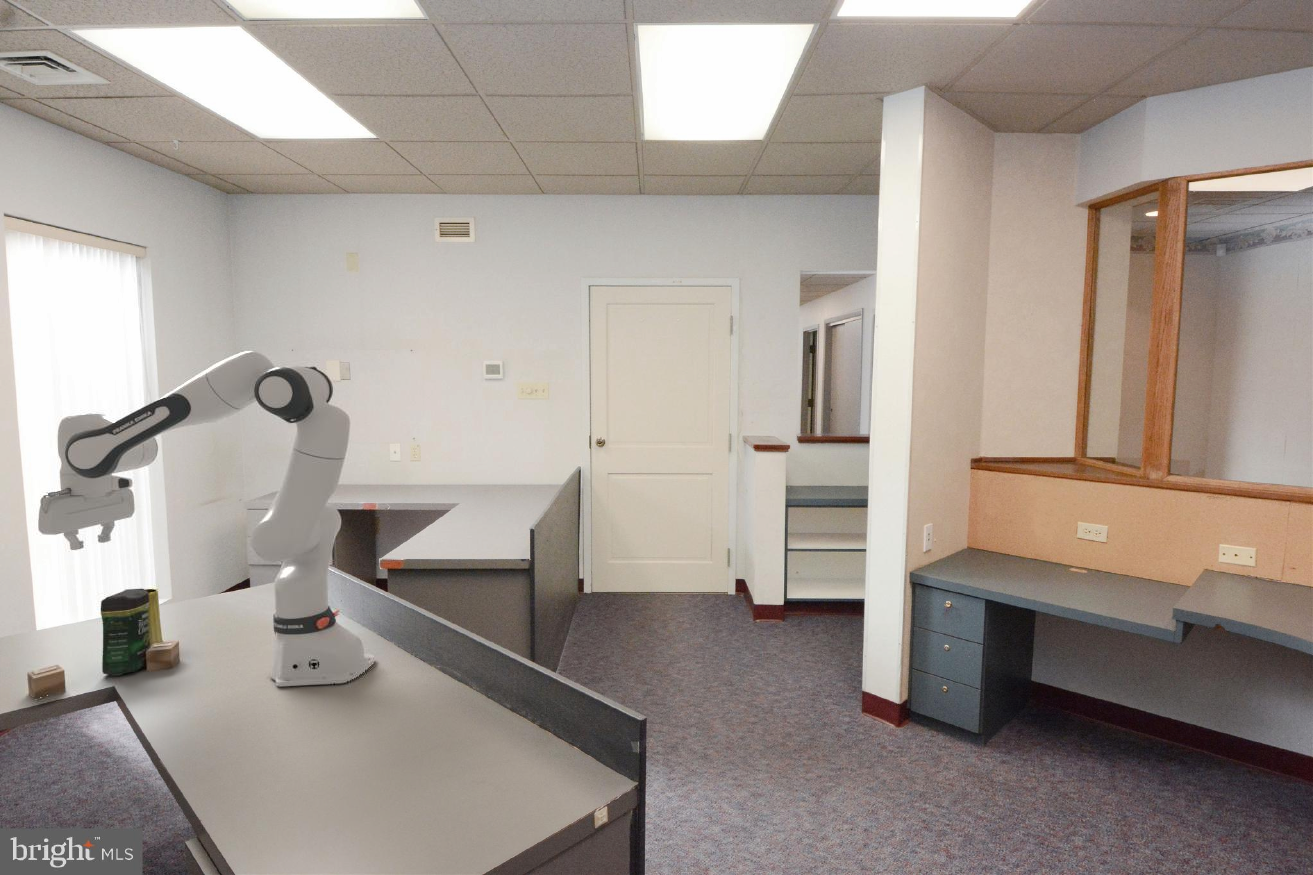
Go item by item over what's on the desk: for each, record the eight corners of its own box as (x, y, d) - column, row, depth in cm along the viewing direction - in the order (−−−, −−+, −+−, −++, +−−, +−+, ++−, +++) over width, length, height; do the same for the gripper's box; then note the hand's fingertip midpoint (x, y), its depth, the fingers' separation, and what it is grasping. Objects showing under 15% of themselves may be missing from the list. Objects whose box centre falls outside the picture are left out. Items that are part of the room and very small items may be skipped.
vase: (169, 641, 173) (166, 588, 171) (148, 650, 166) (145, 595, 165) (147, 640, 173) (144, 587, 172) (127, 649, 167) (123, 594, 166)
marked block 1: (65, 691, 144) (64, 669, 144) (35, 700, 140) (33, 677, 140) (59, 685, 147) (57, 663, 147) (28, 694, 143) (27, 671, 143)
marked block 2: (179, 660, 161) (178, 639, 160) (172, 668, 156) (170, 647, 156) (155, 663, 159) (154, 642, 159) (147, 671, 155) (145, 650, 154)
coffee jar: (135, 674, 151) (131, 595, 151) (96, 678, 150) (92, 597, 149) (158, 659, 161) (155, 584, 160) (121, 663, 159) (118, 587, 159)
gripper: (54, 492, 136) (59, 557, 138) (138, 478, 157) (141, 535, 158) (26, 492, 137) (31, 557, 138) (113, 478, 157) (117, 535, 158)
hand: (91, 545), depth 148 cm, fingers open, 5 cm apart
